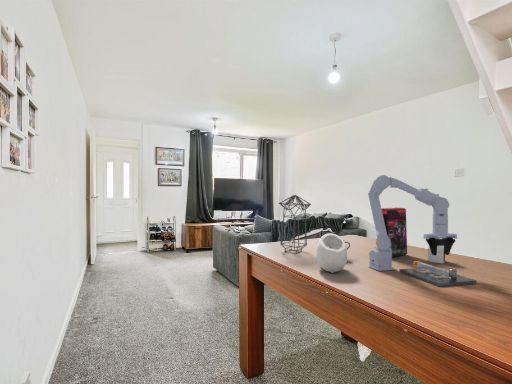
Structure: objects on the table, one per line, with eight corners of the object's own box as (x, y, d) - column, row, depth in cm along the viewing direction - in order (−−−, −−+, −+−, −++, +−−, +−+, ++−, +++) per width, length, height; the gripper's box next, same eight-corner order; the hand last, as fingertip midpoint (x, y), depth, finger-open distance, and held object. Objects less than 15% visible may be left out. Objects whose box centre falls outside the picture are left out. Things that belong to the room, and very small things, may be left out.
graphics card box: (388, 258, 156) (388, 208, 156) (377, 256, 162) (377, 208, 162) (407, 255, 164) (407, 207, 164) (396, 253, 170) (396, 207, 170)
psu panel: (438, 286, 109) (438, 282, 109) (399, 271, 129) (399, 268, 129) (476, 283, 112) (476, 279, 112) (432, 269, 133) (432, 266, 133)
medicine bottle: (444, 263, 144) (444, 240, 144) (427, 261, 148) (427, 238, 148) (445, 261, 150) (445, 238, 150) (429, 259, 154) (429, 237, 154)
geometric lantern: (289, 248, 184) (290, 194, 184) (311, 252, 174) (312, 195, 174) (275, 252, 172) (276, 194, 172) (297, 256, 162) (299, 195, 162)
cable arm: (458, 280, 112) (458, 270, 112) (452, 280, 111) (452, 270, 111) (418, 267, 132) (418, 258, 132) (412, 267, 131) (412, 258, 131)
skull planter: (342, 259, 146) (344, 228, 137) (347, 288, 129) (350, 255, 120) (315, 258, 148) (315, 228, 140) (316, 287, 131) (317, 254, 122)
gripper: (448, 222, 131) (448, 252, 131) (418, 223, 129) (419, 253, 129) (460, 224, 124) (461, 255, 124) (430, 225, 122) (430, 256, 122)
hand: (440, 254), depth 126 cm, fingers open, 5 cm apart
